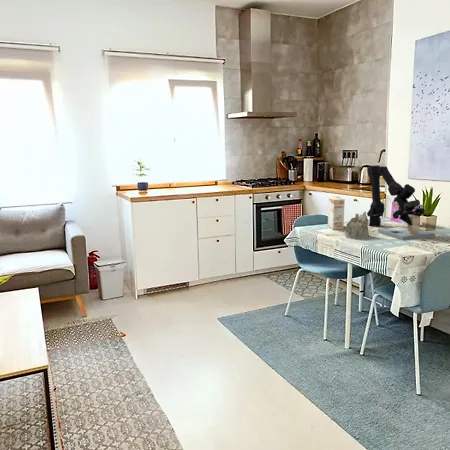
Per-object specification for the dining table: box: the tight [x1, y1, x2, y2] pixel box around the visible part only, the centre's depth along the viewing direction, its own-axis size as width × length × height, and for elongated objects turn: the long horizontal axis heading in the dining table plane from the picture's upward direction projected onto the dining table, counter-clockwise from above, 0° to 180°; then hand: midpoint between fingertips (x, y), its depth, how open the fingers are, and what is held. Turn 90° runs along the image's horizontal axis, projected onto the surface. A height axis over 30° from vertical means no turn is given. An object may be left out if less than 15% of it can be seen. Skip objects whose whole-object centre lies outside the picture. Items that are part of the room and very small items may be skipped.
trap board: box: [377, 226, 436, 241], centre depth 252 cm, size 22×22×2 cm
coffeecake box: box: [327, 196, 346, 231], centre depth 274 cm, size 15×7×20 cm, turn 179°
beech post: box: [406, 215, 421, 234], centre depth 245 cm, size 4×4×10 cm
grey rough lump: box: [344, 211, 370, 240], centre depth 250 cm, size 16×16×15 cm
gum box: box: [390, 200, 424, 226], centre depth 286 cm, size 24×8×14 cm, turn 17°
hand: (415, 225), depth 244 cm, fingers closed on beech post, 4 cm apart
